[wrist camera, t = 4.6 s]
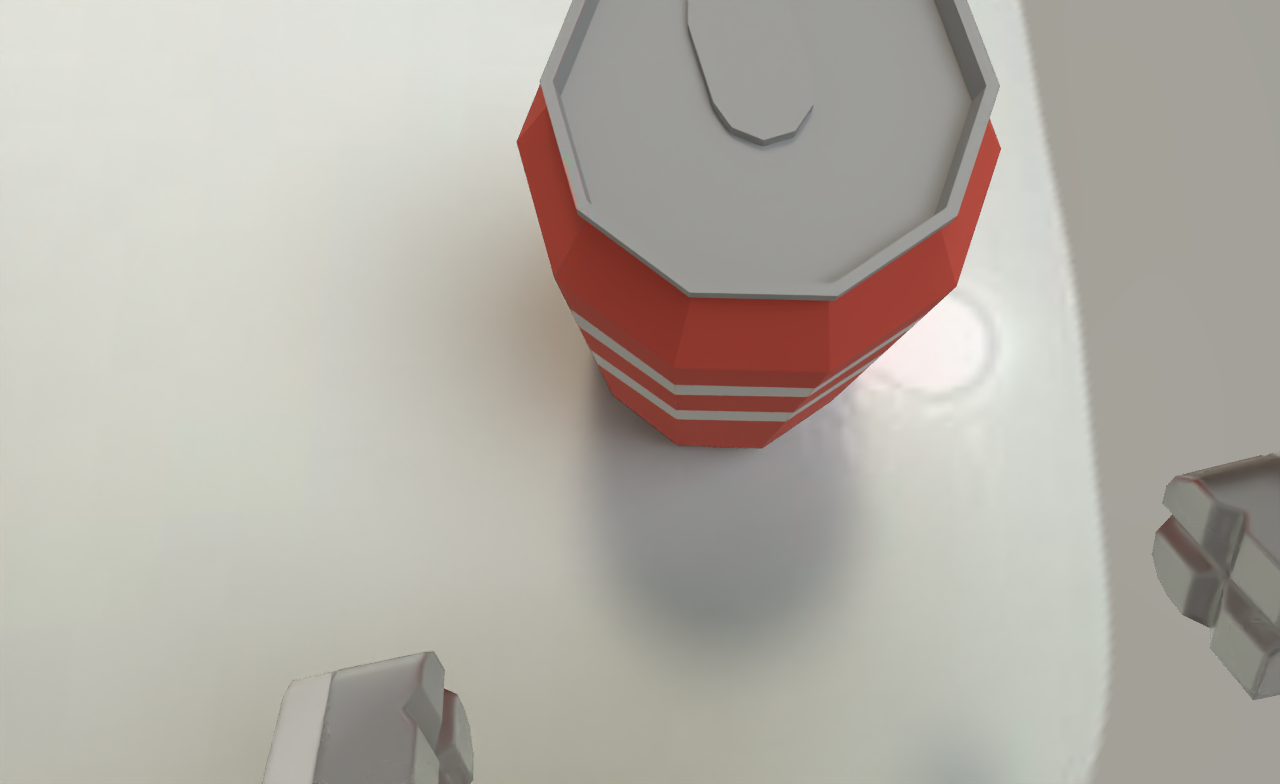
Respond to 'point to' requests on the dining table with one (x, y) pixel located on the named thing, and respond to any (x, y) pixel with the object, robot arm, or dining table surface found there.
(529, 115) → the beverage can
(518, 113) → the dining table surface
